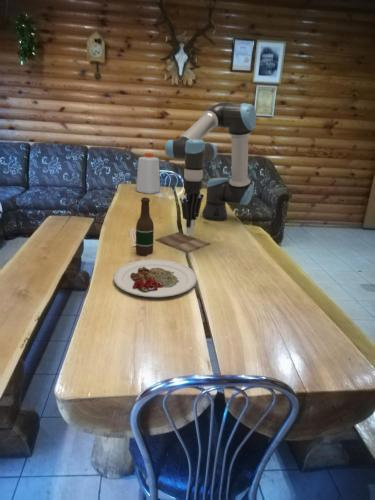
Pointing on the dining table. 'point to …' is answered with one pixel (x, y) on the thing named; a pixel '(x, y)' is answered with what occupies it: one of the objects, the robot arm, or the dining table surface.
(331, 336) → the dining table surface
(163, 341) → the dining table surface
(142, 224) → the beer bottle
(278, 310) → the dining table surface
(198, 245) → the plank
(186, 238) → the floor panel
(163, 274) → the plated food
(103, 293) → the dining table surface
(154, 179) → the white thread spool
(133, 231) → the newspaper
